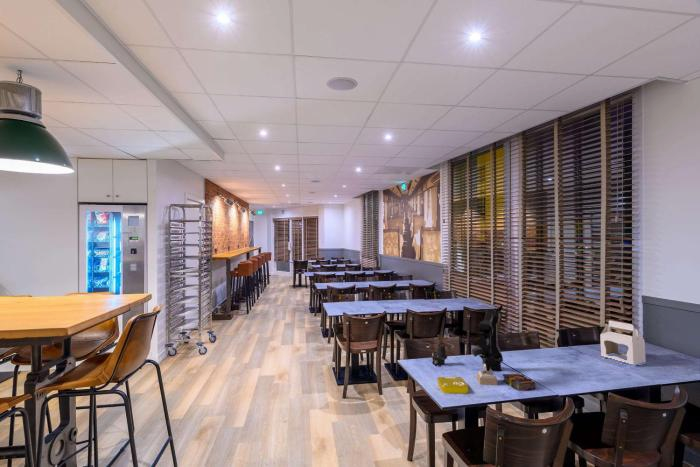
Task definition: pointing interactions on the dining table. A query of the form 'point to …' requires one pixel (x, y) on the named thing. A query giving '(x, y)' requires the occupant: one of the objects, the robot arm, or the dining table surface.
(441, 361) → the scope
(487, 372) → the lens
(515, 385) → the decorative book
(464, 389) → the element tile
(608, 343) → the gable box
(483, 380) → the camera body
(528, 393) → the dining table surface
